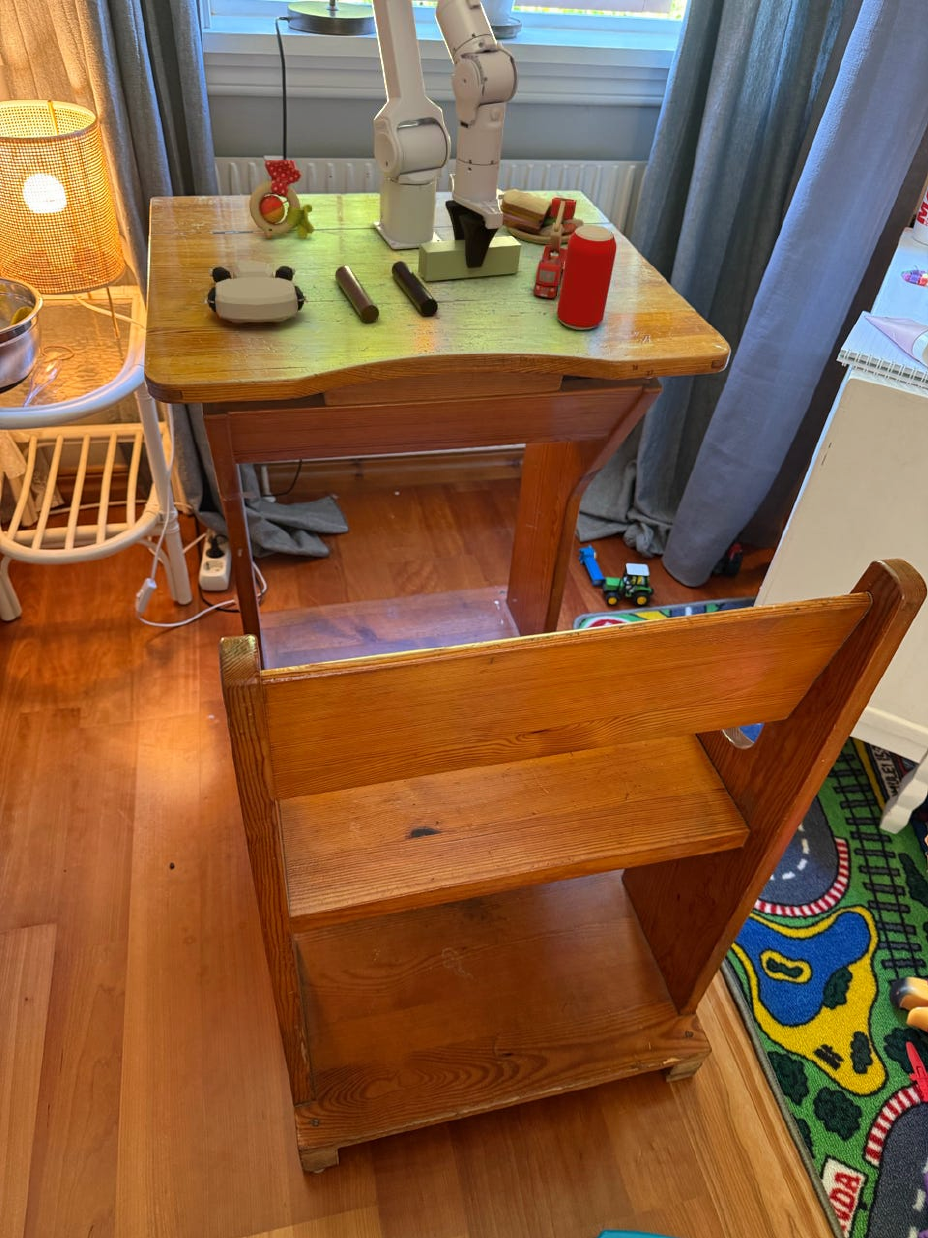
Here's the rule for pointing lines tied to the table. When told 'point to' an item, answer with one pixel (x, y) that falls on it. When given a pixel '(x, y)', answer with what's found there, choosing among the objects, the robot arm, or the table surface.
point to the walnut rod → (357, 294)
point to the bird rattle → (280, 202)
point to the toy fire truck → (551, 264)
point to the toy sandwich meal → (533, 218)
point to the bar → (451, 259)
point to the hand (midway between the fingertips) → (469, 260)
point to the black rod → (414, 289)
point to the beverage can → (586, 277)
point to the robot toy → (254, 293)
